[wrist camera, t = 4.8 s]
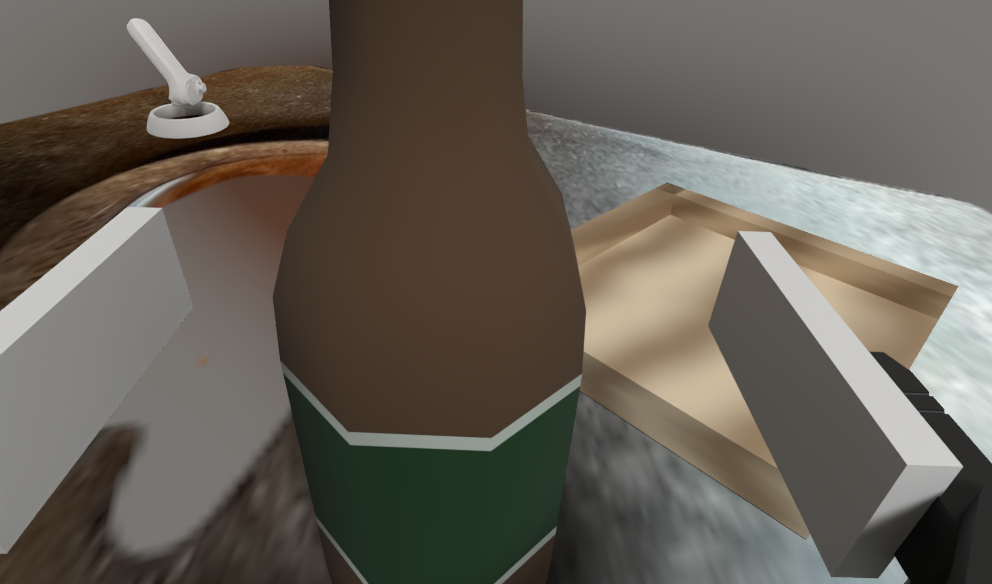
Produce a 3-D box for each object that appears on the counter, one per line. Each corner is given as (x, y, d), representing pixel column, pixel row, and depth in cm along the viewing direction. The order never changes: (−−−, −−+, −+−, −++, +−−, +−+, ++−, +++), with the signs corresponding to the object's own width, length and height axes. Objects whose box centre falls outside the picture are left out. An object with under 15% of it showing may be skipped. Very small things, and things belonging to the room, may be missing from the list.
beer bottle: (587, 630, 19) (893, -533, 6) (355, 726, 17) (-57, -916, 3) (502, 456, 25) (554, -320, 12) (320, 508, 23) (122, -402, 9)
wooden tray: (486, 329, 33) (489, 270, 30) (656, 231, 44) (667, 182, 41) (806, 539, 22) (845, 473, 20) (924, 343, 33) (958, 286, 31)
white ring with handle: (115, 59, 60) (164, 18, 59) (198, 156, 64) (246, 120, 63) (68, 58, 53) (123, 12, 52) (164, 168, 57) (217, 127, 56)
